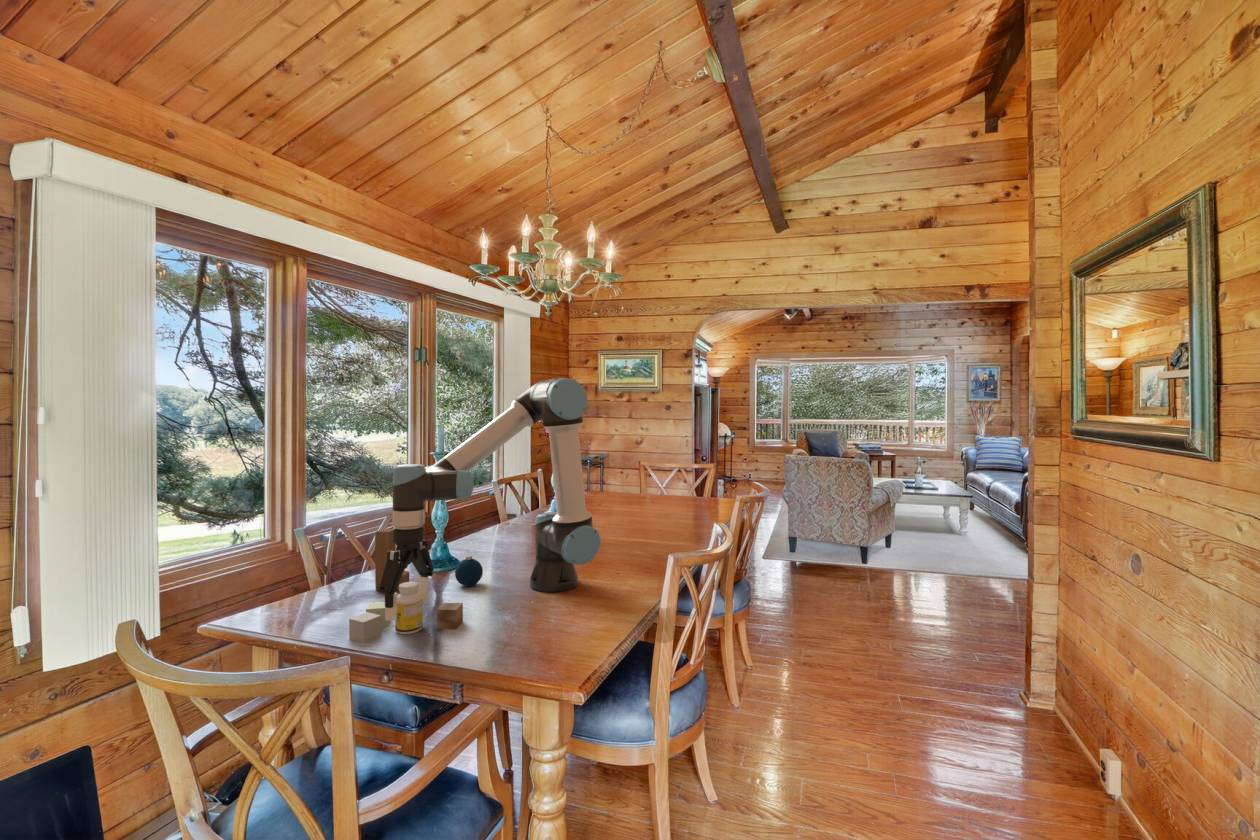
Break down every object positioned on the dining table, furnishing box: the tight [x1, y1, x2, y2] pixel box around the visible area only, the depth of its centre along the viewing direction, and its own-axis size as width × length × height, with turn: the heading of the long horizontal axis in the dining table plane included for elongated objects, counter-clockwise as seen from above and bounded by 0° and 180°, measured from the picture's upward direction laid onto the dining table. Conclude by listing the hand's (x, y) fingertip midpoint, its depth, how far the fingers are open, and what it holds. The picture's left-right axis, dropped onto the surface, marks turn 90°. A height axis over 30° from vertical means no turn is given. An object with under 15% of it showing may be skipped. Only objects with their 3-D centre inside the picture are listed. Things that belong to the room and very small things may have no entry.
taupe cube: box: [348, 611, 382, 643], centre depth 139 cm, size 5×5×5 cm
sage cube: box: [365, 601, 390, 628], centre depth 147 cm, size 5×5×5 cm
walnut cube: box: [436, 602, 464, 630], centre depth 146 cm, size 5×5×5 cm
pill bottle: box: [394, 581, 424, 635], centre depth 143 cm, size 6×6×12 cm
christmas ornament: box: [454, 554, 484, 587], centre depth 179 cm, size 8×8×10 cm
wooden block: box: [374, 528, 410, 591], centre depth 176 cm, size 9×4×18 cm, turn 92°
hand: (407, 610), depth 143 cm, fingers open, 13 cm apart
